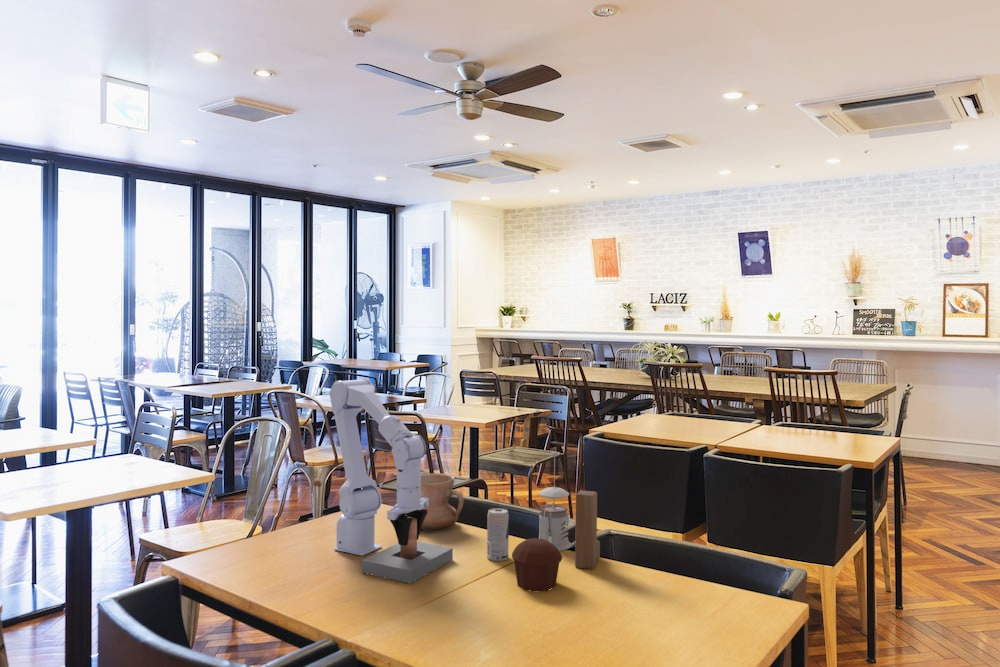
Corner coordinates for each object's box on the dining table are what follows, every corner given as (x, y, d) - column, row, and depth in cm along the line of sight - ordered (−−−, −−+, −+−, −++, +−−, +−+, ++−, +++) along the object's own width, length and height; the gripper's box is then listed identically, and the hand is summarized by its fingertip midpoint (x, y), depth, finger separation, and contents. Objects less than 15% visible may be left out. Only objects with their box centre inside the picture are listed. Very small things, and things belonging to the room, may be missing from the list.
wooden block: (582, 556, 181) (583, 485, 181) (600, 558, 180) (600, 487, 180) (574, 567, 173) (575, 494, 172) (593, 570, 171) (593, 495, 171)
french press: (575, 541, 194) (576, 449, 193) (565, 554, 183) (566, 457, 182) (540, 537, 197) (541, 446, 196) (528, 549, 186) (529, 454, 185)
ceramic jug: (394, 529, 202) (394, 479, 202) (420, 516, 216) (420, 469, 215) (449, 538, 195) (450, 486, 195) (473, 524, 208) (474, 476, 208)
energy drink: (509, 554, 182) (509, 508, 181) (507, 562, 176) (507, 514, 176) (488, 554, 182) (488, 507, 182) (485, 561, 177) (486, 513, 177)
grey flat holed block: (361, 572, 168) (361, 560, 168) (406, 550, 184) (406, 539, 184) (410, 583, 162) (410, 570, 161) (452, 560, 177) (452, 548, 177)
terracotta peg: (396, 557, 172) (397, 520, 172) (406, 552, 175) (406, 516, 175) (410, 560, 170) (410, 522, 170) (420, 555, 174) (420, 518, 173)
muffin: (572, 584, 162) (572, 541, 162) (540, 598, 154) (541, 552, 154) (532, 571, 170) (533, 529, 170) (500, 583, 162) (501, 540, 162)
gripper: (404, 494, 164) (404, 553, 164) (439, 482, 177) (438, 536, 177) (380, 491, 167) (379, 548, 168) (415, 478, 180) (415, 532, 180)
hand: (408, 542), depth 173 cm, fingers closed on terracotta peg, 4 cm apart
